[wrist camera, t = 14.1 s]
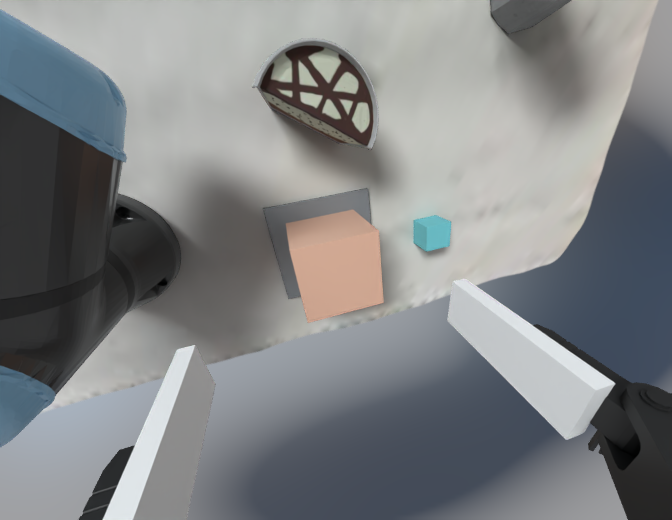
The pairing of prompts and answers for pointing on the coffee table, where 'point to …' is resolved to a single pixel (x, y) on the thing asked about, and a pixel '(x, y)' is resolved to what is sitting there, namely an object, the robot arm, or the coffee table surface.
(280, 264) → the mat
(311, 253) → the salmon peach cube
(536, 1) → the coffeepot
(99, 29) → the coffee table surface
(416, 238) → the fully visible block
